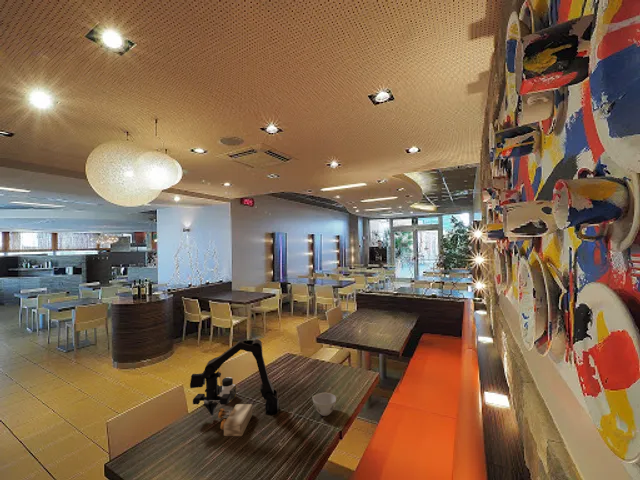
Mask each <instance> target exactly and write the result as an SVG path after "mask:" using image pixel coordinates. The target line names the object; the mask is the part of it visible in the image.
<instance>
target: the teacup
mask: <svg viewBox="0 0 640 480" xmlns="http://www.w3.org/2000/svg"><path fill="white" fill-rule="evenodd" d="M311 399H312V400H311V401H312V402H313V406H314V409H315V410H316V412H318V414H319V415H321V416H324V417H327V416H329V415H330V414H331V413H332V412H333V411H334V409H335V406H336V402H337V397H336V395H335V394H332V393H331V392H320V393H316V394H315V395H312V397H311Z"/></svg>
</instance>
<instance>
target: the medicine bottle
mask: <svg viewBox="0 0 640 480" xmlns="http://www.w3.org/2000/svg"><path fill="white" fill-rule="evenodd" d="M233 380H234V378H233V377H232V376H231V377H230V376H226V377H224V378H223V379H222V380H221V381H222V382H221V384H222V385H221V386H222V392H220V394H219V395H218V396H220V397H222V395H223V394H230V395H231V400H230V401H229V402H228V403H231V402H232V401H233V400H234V399H235V398H236V396H237V385H236V384H234V382H233Z"/></svg>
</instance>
